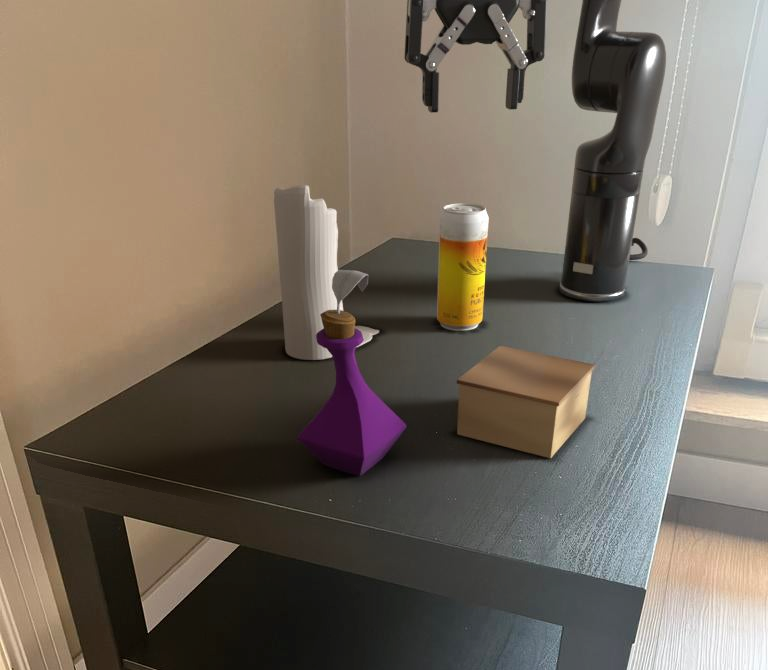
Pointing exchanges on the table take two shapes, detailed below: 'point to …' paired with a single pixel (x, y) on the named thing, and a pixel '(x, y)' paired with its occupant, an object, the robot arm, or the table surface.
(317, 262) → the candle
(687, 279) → the table surface
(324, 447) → the purple potion bottle
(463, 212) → the beer can
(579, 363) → the wooden box
